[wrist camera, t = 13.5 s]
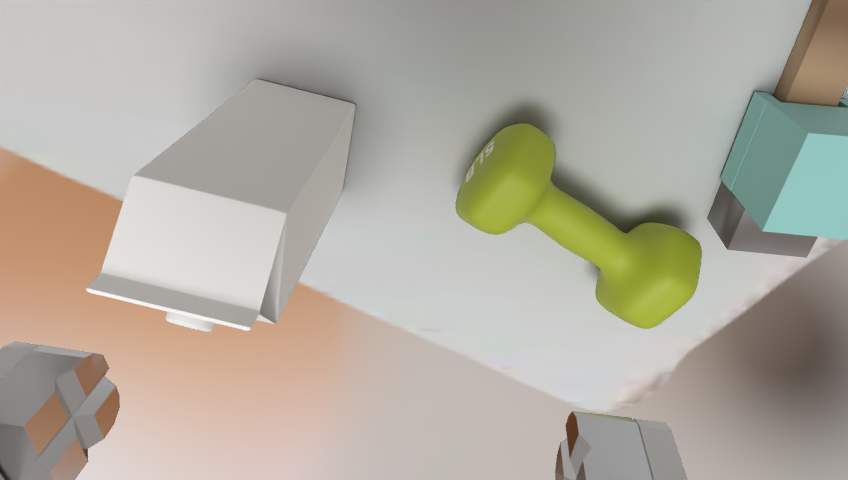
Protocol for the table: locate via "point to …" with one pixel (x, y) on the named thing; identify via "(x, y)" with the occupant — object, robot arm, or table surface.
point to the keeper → (792, 167)
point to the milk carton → (231, 210)
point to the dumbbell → (579, 228)
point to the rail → (802, 84)
